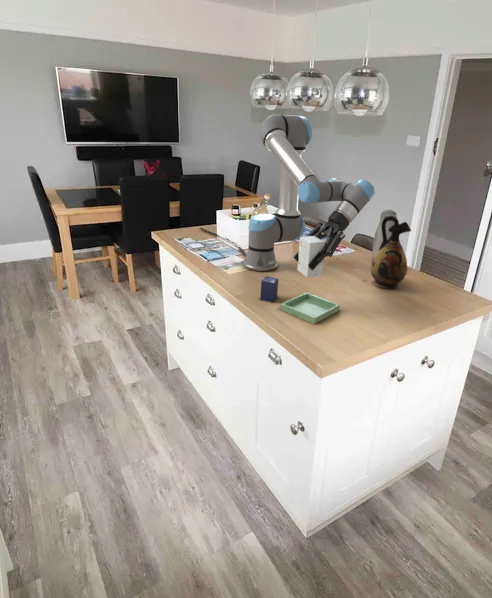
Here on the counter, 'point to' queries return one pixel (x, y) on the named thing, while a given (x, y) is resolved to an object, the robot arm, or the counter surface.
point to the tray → (310, 307)
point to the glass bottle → (378, 234)
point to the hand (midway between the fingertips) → (302, 263)
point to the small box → (309, 255)
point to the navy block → (269, 289)
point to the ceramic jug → (390, 256)
